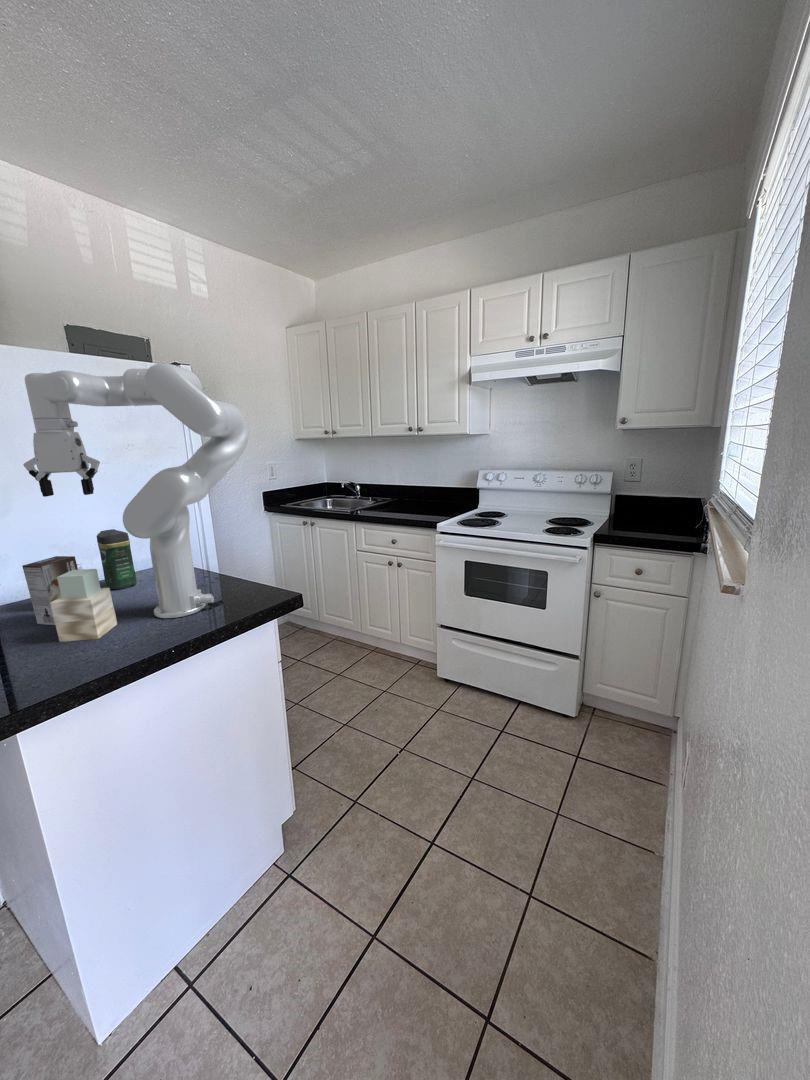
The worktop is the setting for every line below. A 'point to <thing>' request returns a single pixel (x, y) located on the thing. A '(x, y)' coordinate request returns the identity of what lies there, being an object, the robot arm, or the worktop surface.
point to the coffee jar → (116, 559)
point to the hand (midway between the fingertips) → (68, 495)
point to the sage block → (79, 584)
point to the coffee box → (46, 584)
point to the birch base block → (87, 627)
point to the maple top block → (82, 607)
